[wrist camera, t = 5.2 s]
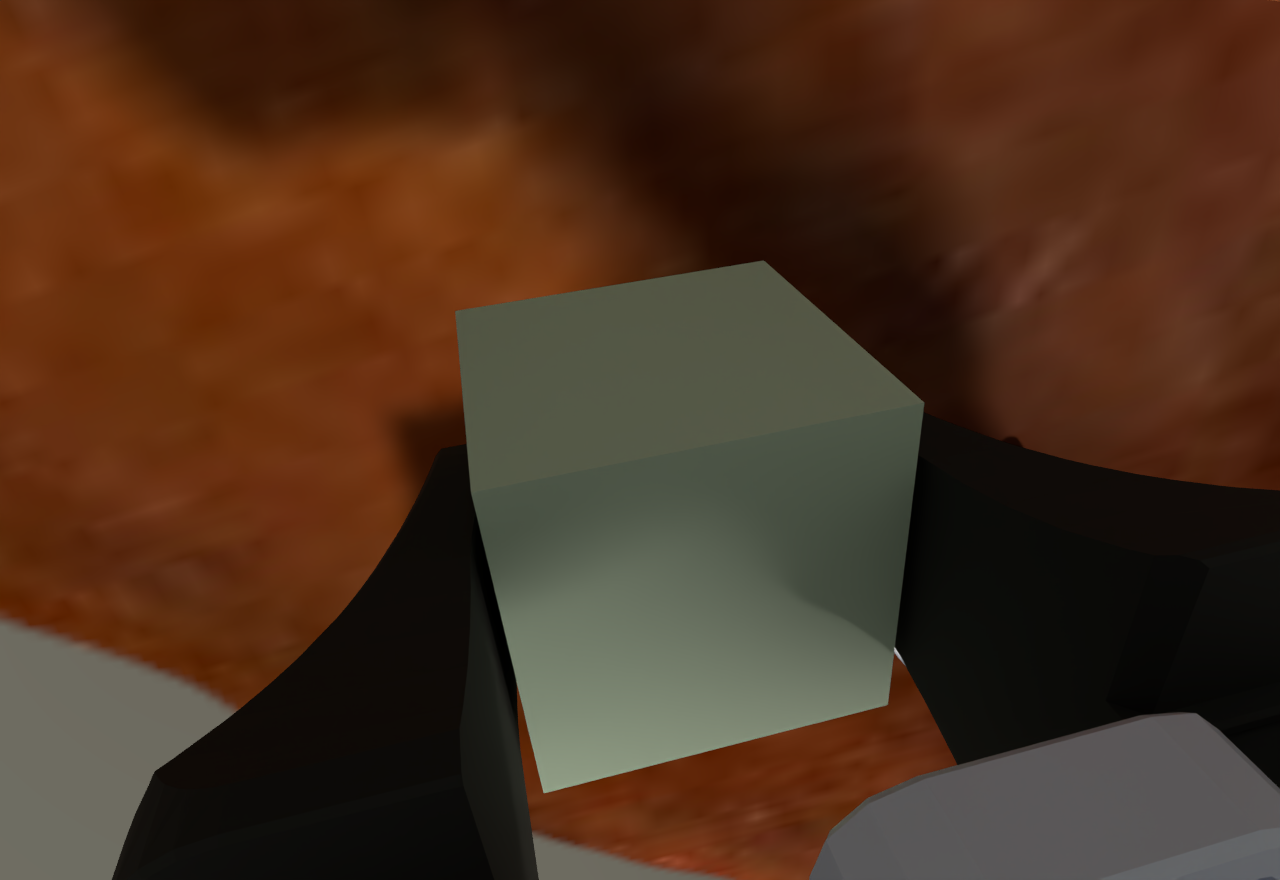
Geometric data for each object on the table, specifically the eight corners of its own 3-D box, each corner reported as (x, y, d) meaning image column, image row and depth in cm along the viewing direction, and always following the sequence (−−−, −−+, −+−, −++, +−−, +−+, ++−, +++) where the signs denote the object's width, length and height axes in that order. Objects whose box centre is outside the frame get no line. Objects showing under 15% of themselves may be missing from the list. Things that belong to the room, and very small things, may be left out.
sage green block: (763, 505, 16) (887, 704, 11) (510, 559, 15) (543, 793, 11) (763, 260, 13) (924, 402, 9) (455, 311, 12) (471, 493, 8)
